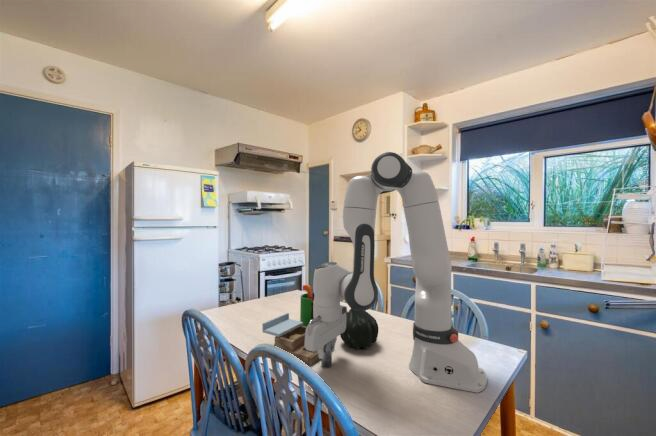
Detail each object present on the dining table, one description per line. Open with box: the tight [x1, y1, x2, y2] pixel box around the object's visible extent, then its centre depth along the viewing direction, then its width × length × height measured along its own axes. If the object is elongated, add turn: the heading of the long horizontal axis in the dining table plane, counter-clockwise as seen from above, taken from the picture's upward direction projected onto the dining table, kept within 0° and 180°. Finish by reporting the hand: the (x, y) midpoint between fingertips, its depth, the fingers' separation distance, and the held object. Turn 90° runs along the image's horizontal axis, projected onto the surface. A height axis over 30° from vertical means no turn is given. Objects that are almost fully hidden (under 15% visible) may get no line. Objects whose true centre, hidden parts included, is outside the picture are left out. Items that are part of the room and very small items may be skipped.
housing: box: [274, 326, 321, 367], centre depth 107 cm, size 16×14×6 cm
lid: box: [262, 312, 303, 337], centre depth 113 cm, size 8×14×3 cm, turn 148°
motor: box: [299, 284, 314, 327], centre depth 124 cm, size 10×9×20 cm
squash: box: [339, 308, 379, 350], centre depth 114 cm, size 14×15×15 cm
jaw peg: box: [320, 340, 333, 369], centre depth 98 cm, size 3×3×9 cm
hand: (326, 354), depth 98 cm, fingers open, 4 cm apart
